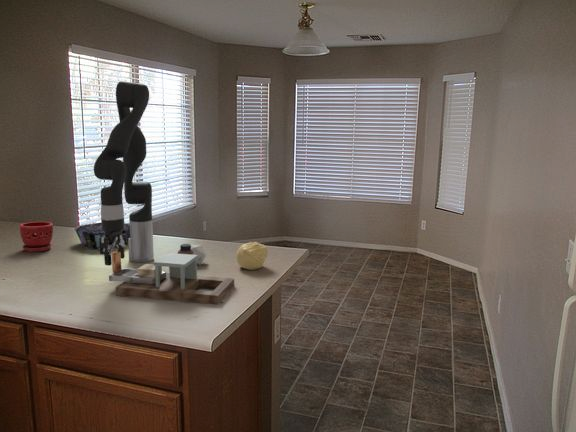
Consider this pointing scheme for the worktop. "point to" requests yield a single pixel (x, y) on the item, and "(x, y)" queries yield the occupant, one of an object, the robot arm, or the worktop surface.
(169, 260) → the tunnel
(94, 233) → the decorative bowl
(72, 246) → the worktop surface
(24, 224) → the plant pot
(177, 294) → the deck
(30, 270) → the worktop surface
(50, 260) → the worktop surface
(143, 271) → the block
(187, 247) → the supplement bottle
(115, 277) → the slider
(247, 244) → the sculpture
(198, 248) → the die
